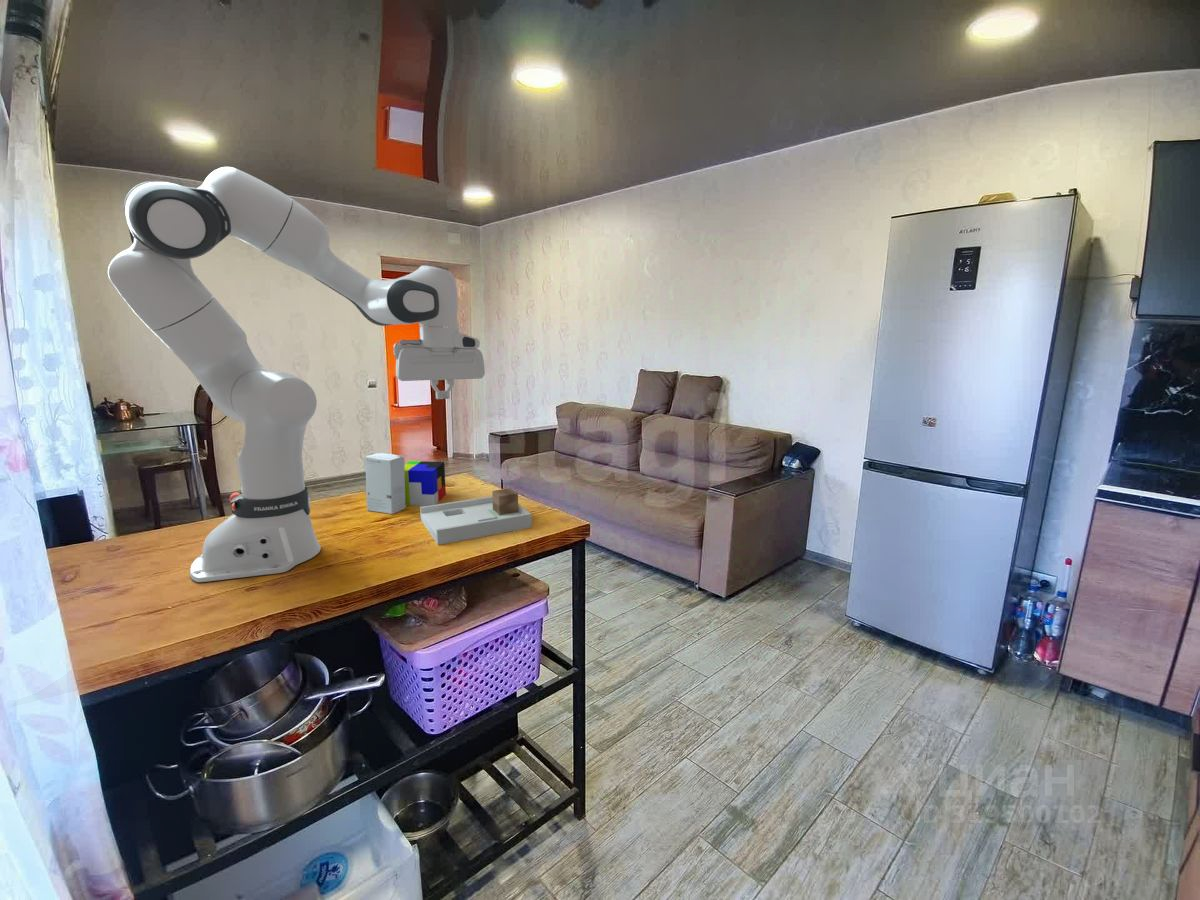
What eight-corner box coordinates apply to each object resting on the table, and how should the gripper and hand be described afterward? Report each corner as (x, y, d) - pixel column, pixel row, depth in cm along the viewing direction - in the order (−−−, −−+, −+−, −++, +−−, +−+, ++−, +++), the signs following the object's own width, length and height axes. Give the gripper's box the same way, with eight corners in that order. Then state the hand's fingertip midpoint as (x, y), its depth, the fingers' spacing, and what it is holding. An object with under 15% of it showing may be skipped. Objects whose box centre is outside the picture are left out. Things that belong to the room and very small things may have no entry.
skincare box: (366, 511, 136) (362, 456, 133) (382, 504, 142) (378, 451, 138) (393, 515, 134) (389, 459, 131) (408, 507, 140) (404, 454, 136)
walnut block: (499, 515, 130) (499, 496, 128) (492, 509, 134) (492, 490, 133) (518, 512, 132) (517, 493, 131) (511, 506, 136) (510, 488, 135)
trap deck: (438, 544, 116) (437, 530, 115) (420, 520, 131) (420, 506, 130) (531, 527, 127) (531, 514, 127) (506, 506, 142) (505, 494, 141)
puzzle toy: (434, 506, 141) (432, 471, 139) (398, 505, 141) (395, 470, 139) (445, 494, 151) (444, 461, 149) (412, 494, 151) (409, 461, 149)
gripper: (395, 339, 112) (399, 402, 116) (486, 340, 123) (487, 398, 126) (390, 339, 118) (394, 399, 121) (477, 339, 128) (479, 395, 131)
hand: (442, 398), depth 123 cm, fingers closed
